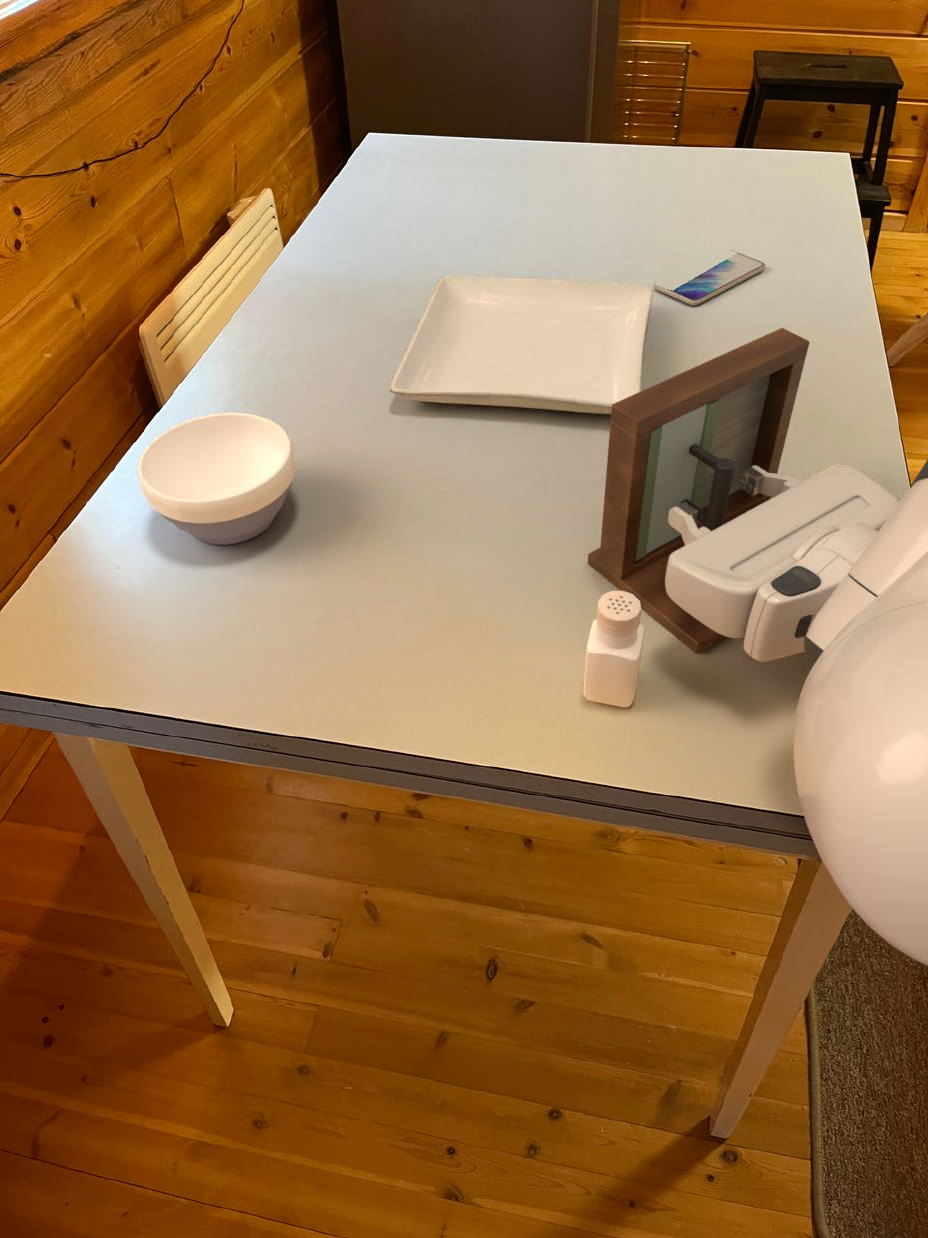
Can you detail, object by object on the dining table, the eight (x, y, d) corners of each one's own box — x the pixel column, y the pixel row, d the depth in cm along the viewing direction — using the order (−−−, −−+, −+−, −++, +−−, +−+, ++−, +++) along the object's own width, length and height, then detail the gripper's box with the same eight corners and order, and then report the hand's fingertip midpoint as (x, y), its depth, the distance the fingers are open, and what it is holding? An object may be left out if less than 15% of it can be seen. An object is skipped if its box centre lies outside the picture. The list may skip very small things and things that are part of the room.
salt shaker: (631, 712, 73) (642, 628, 66) (581, 702, 74) (587, 619, 67) (639, 674, 76) (650, 590, 69) (590, 665, 77) (597, 582, 70)
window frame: (849, 560, 84) (907, 389, 71) (695, 653, 77) (730, 482, 64) (734, 485, 92) (768, 320, 80) (587, 563, 85) (599, 395, 73)
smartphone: (768, 263, 123) (694, 302, 117) (766, 270, 124) (693, 308, 118) (724, 246, 127) (651, 282, 121) (723, 252, 128) (650, 288, 121)
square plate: (441, 300, 122) (439, 271, 119) (651, 311, 118) (654, 282, 115) (389, 414, 104) (385, 384, 101) (636, 433, 99) (639, 402, 96)
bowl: (328, 485, 95) (317, 422, 90) (266, 578, 86) (249, 514, 80) (203, 464, 99) (185, 402, 93) (130, 552, 89) (105, 489, 84)
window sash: (731, 553, 82) (759, 422, 72) (669, 588, 79) (690, 457, 70) (689, 523, 85) (711, 394, 75) (628, 555, 82) (642, 426, 73)
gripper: (946, 497, 71) (804, 416, 79) (757, 612, 63) (622, 509, 71) (921, 558, 75) (789, 476, 83) (741, 672, 68) (615, 570, 76)
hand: (710, 492), depth 77 cm, fingers open, 7 cm apart
